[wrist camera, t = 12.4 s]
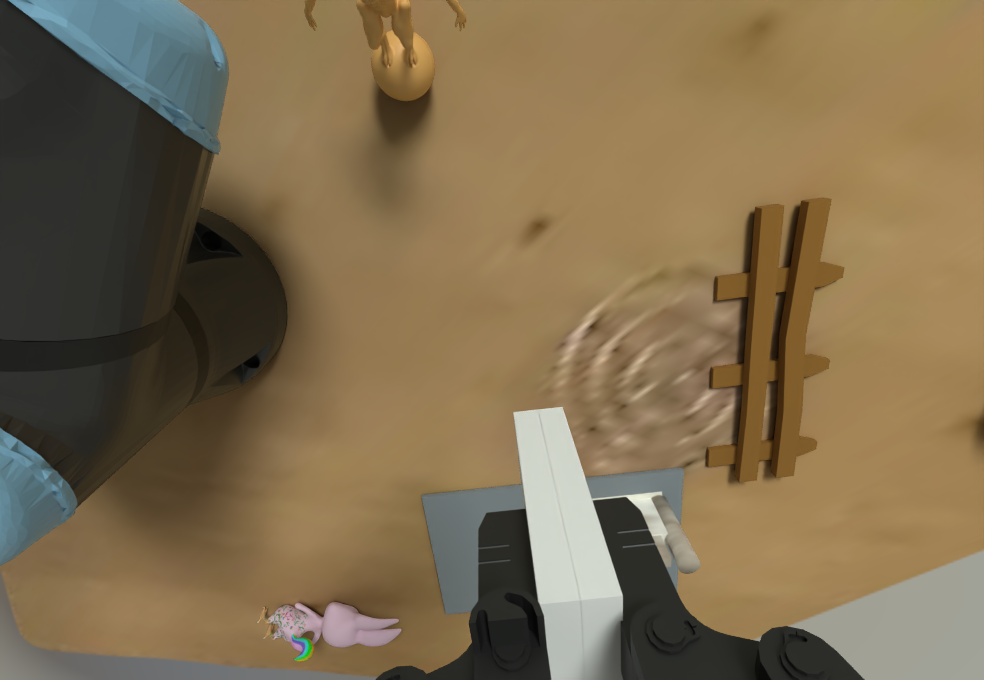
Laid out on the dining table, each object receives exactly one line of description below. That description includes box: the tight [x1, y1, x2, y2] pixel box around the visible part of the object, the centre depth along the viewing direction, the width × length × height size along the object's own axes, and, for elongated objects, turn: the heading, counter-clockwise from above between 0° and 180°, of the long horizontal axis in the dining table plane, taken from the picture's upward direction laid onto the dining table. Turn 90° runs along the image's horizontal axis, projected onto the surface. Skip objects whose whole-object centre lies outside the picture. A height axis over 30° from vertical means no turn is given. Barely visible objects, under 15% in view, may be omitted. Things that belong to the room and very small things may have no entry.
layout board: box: [422, 467, 684, 614], centre depth 48 cm, size 25×16×1 cm, turn 96°
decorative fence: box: [706, 198, 844, 482], centre depth 41 cm, size 25×2×10 cm
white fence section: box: [630, 495, 700, 574], centre depth 42 cm, size 12×2×9 cm, turn 96°
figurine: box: [304, 0, 466, 101], centre depth 26 cm, size 8×6×12 cm
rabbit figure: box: [257, 602, 401, 662], centre depth 49 cm, size 6×6×15 cm
